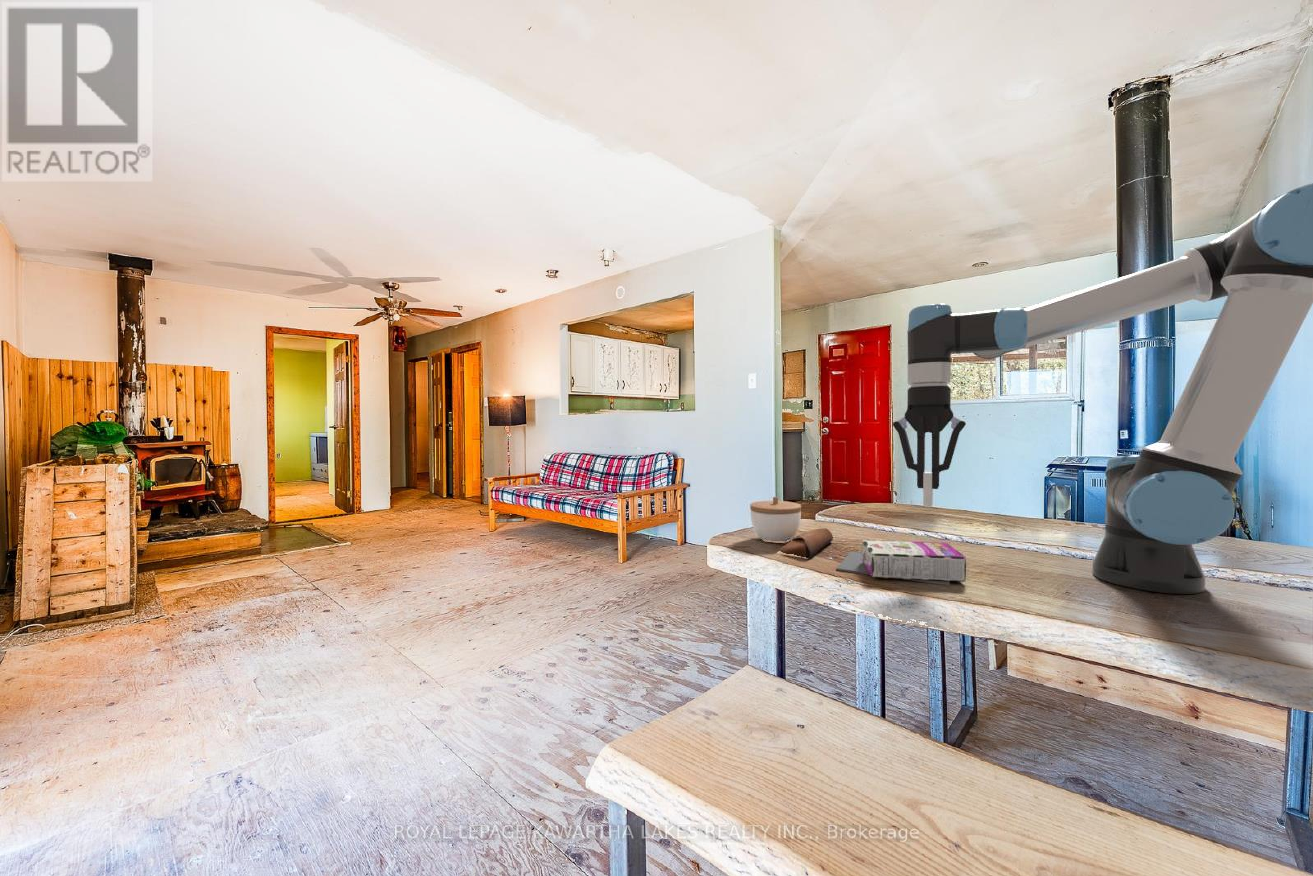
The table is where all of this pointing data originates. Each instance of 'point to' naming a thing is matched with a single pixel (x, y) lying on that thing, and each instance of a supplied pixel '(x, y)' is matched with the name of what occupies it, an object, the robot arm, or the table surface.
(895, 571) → the candy bar box
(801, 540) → the sunglasses case
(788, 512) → the lidded bowl
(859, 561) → the mat
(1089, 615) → the table surface
